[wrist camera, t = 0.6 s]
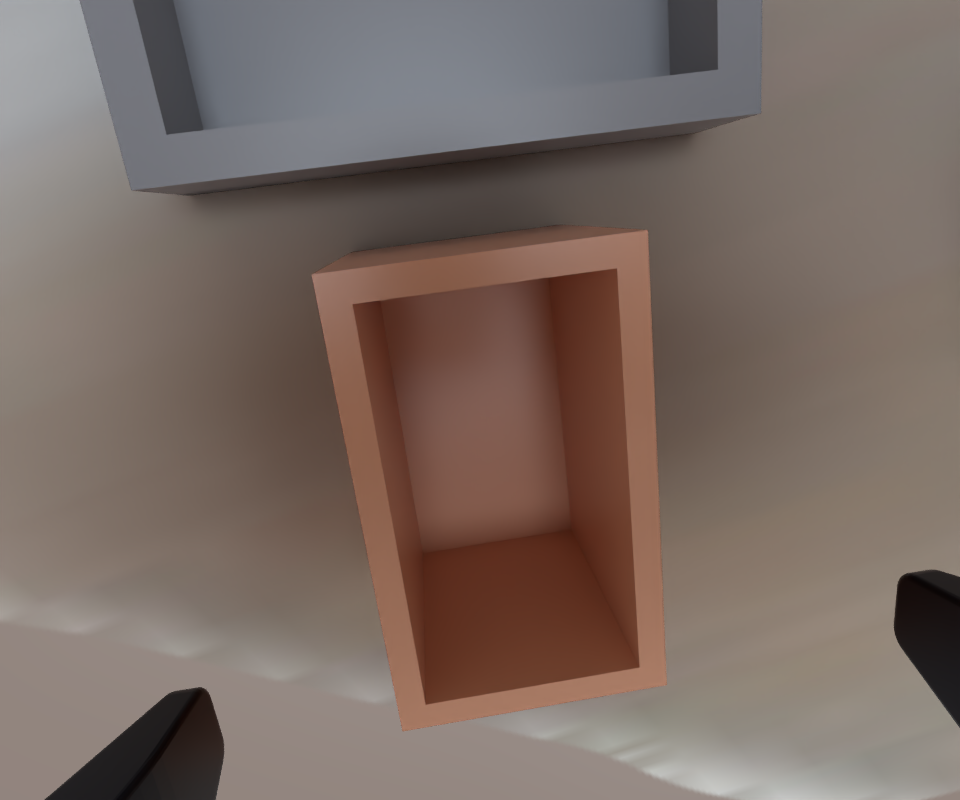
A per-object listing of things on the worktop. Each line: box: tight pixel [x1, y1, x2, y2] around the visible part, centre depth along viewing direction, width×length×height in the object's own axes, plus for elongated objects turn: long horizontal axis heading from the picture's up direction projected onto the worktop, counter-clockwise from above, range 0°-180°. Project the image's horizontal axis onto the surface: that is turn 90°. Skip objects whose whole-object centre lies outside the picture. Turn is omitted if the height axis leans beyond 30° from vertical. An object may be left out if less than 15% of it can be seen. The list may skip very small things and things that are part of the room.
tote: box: [312, 225, 667, 731], centre depth 16 cm, size 6×10×7 cm, turn 7°
